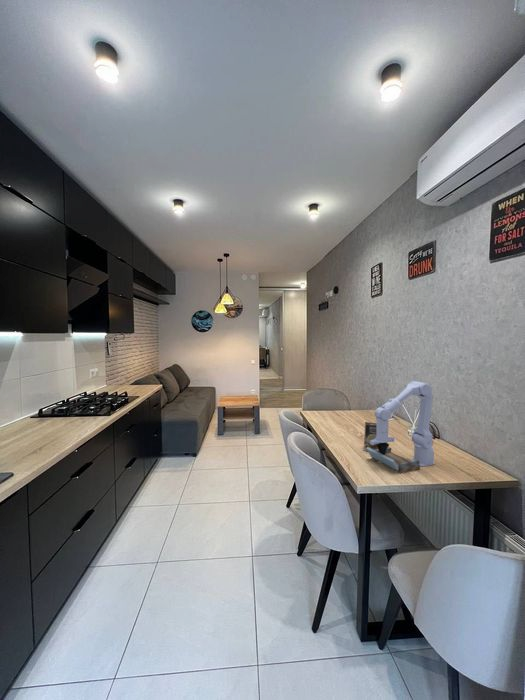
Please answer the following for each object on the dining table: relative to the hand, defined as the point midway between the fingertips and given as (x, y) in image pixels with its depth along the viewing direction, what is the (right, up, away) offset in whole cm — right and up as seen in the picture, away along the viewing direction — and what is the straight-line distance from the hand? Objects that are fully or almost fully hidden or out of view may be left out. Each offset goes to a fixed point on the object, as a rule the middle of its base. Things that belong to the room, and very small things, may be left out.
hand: (382, 456), depth 155 cm
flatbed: (+8, -5, +3) cm, 10 cm away
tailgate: (+2, -3, +1) cm, 4 cm away
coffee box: (+3, -4, +22) cm, 22 cm away
